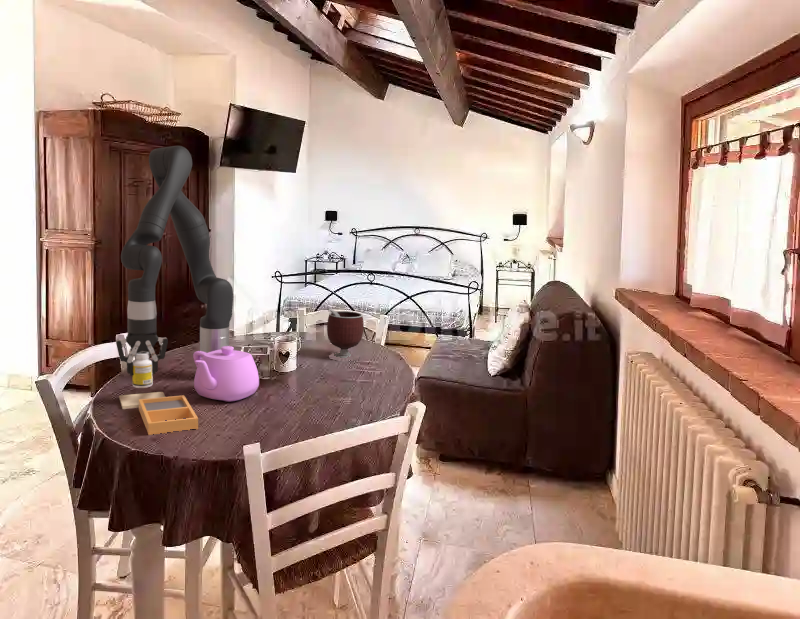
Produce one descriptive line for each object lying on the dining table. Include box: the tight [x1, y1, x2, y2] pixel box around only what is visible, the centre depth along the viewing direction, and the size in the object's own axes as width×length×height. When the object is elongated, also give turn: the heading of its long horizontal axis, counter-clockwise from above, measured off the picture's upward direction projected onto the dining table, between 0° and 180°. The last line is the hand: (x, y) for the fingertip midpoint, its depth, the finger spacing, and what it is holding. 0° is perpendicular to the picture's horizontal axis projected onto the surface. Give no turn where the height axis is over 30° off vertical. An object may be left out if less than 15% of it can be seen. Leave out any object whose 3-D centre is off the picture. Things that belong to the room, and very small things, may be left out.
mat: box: [118, 391, 166, 410], centre depth 183 cm, size 12×10×1 cm
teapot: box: [192, 345, 260, 403], centre depth 189 cm, size 23×21×15 cm
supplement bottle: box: [131, 351, 154, 389], centre depth 181 cm, size 5×5×10 cm
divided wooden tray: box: [138, 394, 199, 436], centre depth 170 cm, size 12×20×3 cm, turn 29°
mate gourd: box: [326, 308, 365, 358], centre depth 243 cm, size 16×14×20 cm
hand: (142, 373), depth 182 cm, fingers closed on supplement bottle, 5 cm apart
